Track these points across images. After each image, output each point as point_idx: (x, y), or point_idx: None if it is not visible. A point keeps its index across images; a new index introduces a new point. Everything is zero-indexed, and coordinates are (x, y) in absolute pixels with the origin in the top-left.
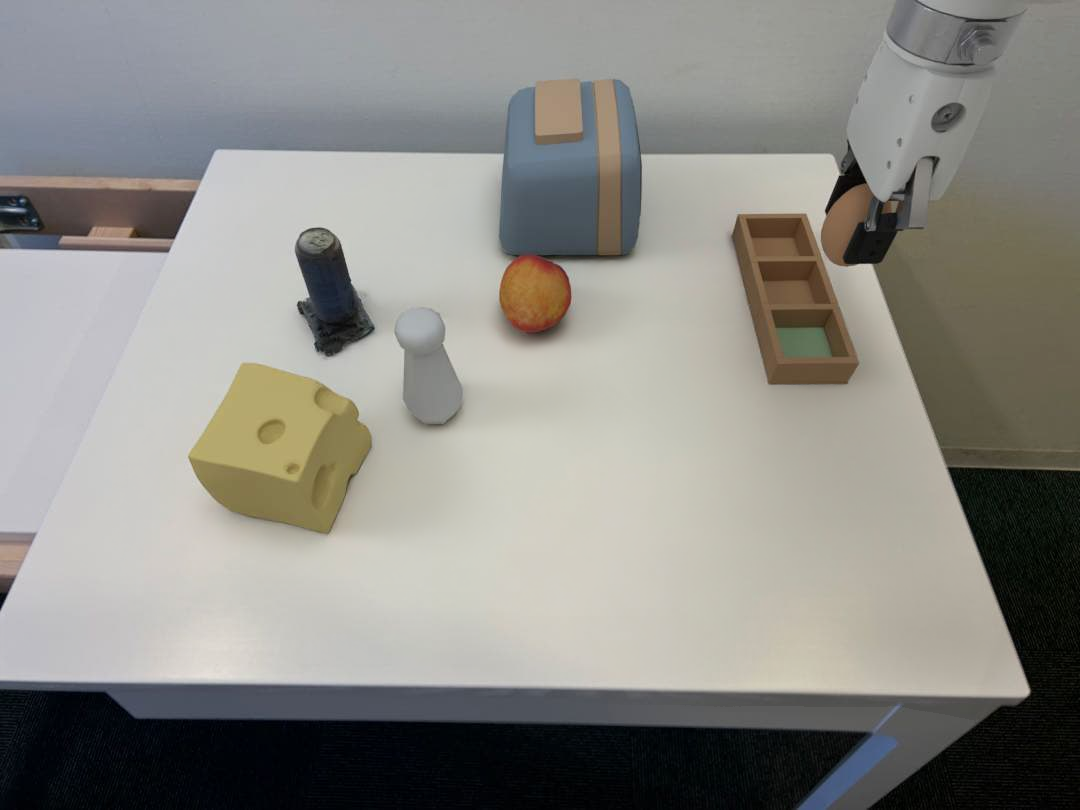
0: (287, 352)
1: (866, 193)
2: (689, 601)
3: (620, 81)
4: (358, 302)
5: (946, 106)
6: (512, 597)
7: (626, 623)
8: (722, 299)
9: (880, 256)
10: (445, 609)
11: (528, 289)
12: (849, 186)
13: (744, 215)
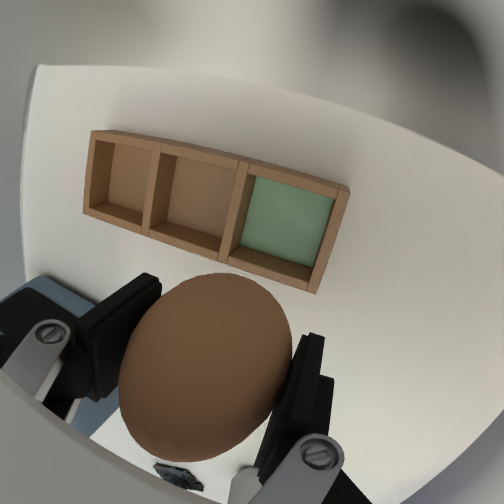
0: (197, 492)
1: (172, 461)
2: (459, 414)
3: None
4: (167, 471)
5: None
6: (395, 477)
7: (445, 443)
8: (185, 261)
9: (333, 383)
10: (381, 493)
11: None
12: (109, 377)
13: (85, 207)
